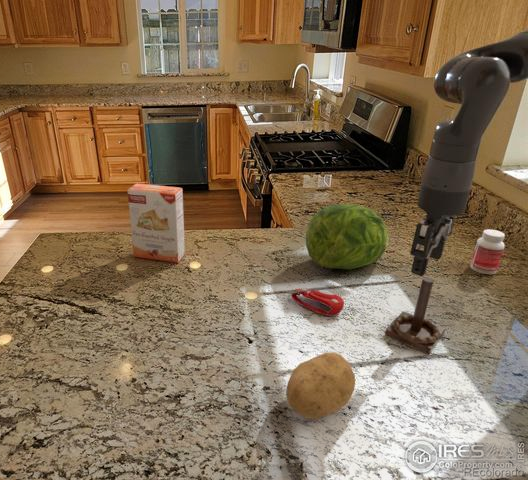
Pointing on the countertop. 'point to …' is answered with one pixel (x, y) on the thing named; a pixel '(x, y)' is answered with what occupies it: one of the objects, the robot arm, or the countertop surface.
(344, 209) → the lettuce
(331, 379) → the potato
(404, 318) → the ring
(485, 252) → the pill bottle
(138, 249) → the cracker box
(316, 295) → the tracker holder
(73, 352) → the countertop surface
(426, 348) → the post
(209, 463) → the countertop surface
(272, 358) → the countertop surface
